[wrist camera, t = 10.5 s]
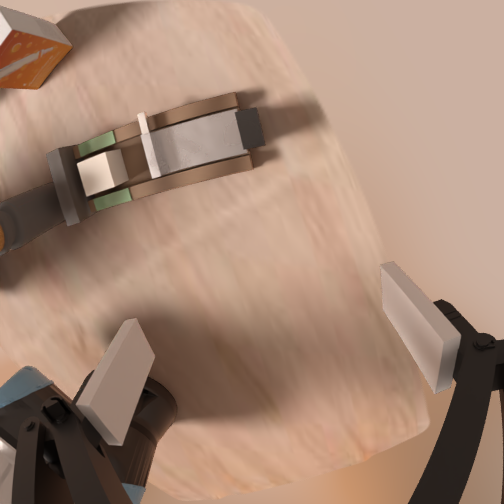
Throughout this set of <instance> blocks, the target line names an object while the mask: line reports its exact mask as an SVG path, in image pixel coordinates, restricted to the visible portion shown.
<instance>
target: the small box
mask: <svg viewBox="0 0 504 504" xmlns="http://www.w3.org/2000/svg"><path fill="white" fill-rule="evenodd" d="M72 48H73V46H72V44H71V43H70V42H69V41H68V39H67V38H66V37H65V36H64V34H63V33H62V32H61V31H60V29H59V28H58V27H57V26H56V24H54V23H51V22H49V21H46V20H43V19H40V18H37V17H34V16H31V15H28V14H25V13H22V12H19V11H16V10H13V9H9V8H6V7H3V6H0V88H13V89H35V90H37V89H39V87H40V86H41V84H42V83H43V82H44V80H45V79H46V78H47V76H48V75H49V74H50V73H51V71H52V70H53V69H54V68H55V67H56V65H57V64H58V63H59V62H60V61H61V60H62V58H63V57H64V56H65V55H66V54H67V53H68V52H69V51H70V50H71V49H72Z"/></svg>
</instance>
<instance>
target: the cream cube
mask: <svg viewBox="0 0 504 504" xmlns="http://www.w3.org/2000/svg"><path fill="white" fill-rule="evenodd" d="M77 166H78V169H79V173H80V176H81V180H82V183H83V187H84V190H85V193H86V197H87V196H89V195H92V194H95V193H98V192H101V191H104V190H107V189H109V188H112V187H115V186H117V185H120V184H122V183H124V182H126V181H128V180H129V178H128V175H127V171H126V168H125V164H124V161H123V157H122V153H121V149H117V150H112V151H108V152H104V153H101V154H99V155H96V156H94V157H91V158H89V159H87V160H84V161H82V162H79V163H77Z"/></svg>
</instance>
